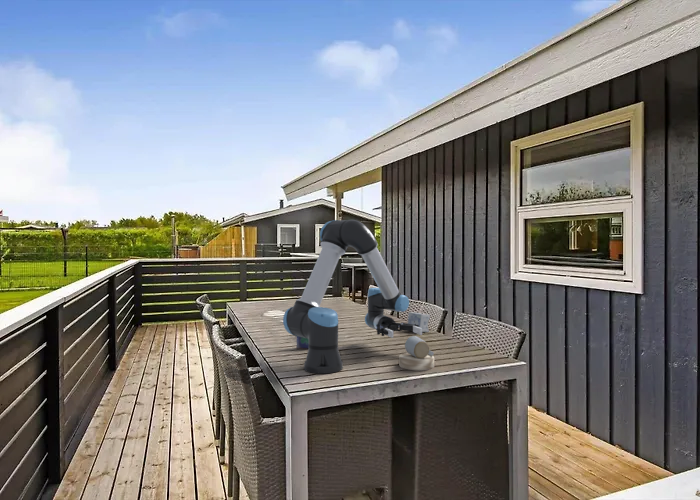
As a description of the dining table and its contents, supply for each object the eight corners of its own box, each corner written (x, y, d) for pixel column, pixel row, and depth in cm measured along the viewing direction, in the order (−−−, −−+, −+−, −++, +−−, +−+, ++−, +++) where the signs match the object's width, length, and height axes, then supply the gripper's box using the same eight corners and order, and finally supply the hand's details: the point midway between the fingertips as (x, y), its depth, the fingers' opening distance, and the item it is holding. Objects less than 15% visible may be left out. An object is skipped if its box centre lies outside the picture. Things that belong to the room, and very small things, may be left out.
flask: (295, 348, 218) (295, 325, 218) (297, 347, 221) (297, 324, 221) (315, 349, 217) (315, 326, 216) (316, 348, 220) (316, 325, 219)
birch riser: (421, 373, 179) (421, 363, 179) (392, 366, 189) (392, 356, 189) (441, 366, 190) (441, 356, 189) (412, 360, 199) (412, 350, 199)
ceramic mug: (414, 360, 183) (414, 340, 183) (404, 355, 191) (404, 336, 191) (437, 357, 187) (438, 338, 187) (427, 353, 195) (427, 334, 195)
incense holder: (430, 332, 256) (430, 312, 255) (420, 334, 250) (420, 314, 250) (416, 329, 263) (416, 310, 263) (406, 331, 258) (406, 312, 258)
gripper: (408, 330, 221) (432, 339, 201) (359, 334, 211) (380, 344, 192) (408, 314, 221) (432, 321, 201) (359, 318, 211) (380, 326, 192)
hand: (407, 333), depth 196 cm, fingers open, 13 cm apart
